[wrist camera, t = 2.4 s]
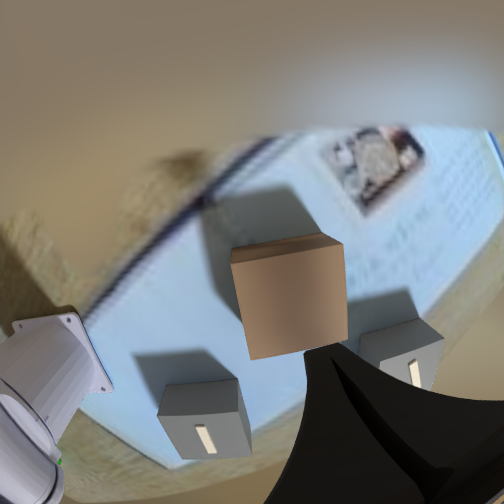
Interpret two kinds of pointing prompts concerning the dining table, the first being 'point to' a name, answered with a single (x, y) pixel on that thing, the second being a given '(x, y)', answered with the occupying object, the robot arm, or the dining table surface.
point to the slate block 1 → (206, 420)
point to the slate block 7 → (405, 352)
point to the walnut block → (291, 294)
